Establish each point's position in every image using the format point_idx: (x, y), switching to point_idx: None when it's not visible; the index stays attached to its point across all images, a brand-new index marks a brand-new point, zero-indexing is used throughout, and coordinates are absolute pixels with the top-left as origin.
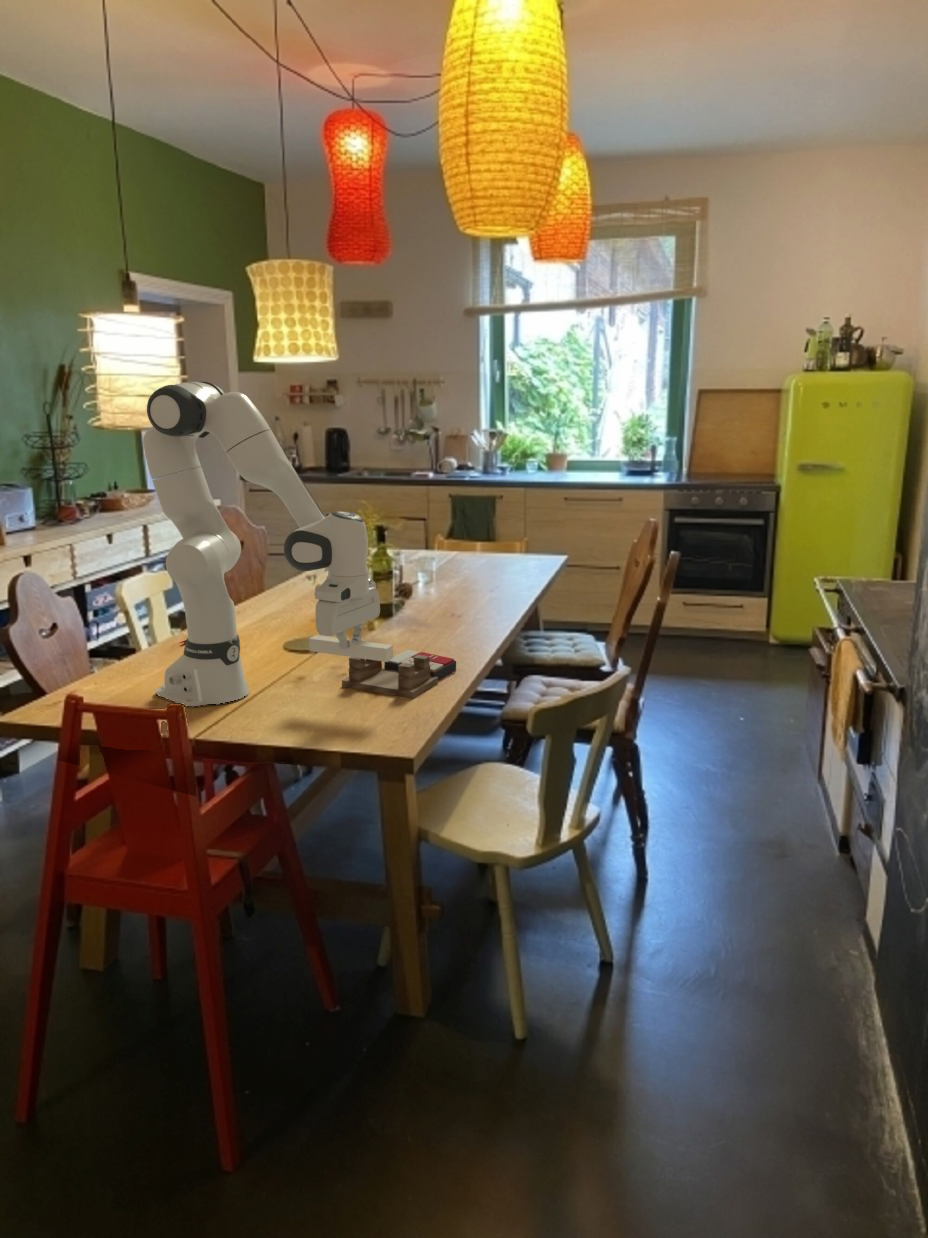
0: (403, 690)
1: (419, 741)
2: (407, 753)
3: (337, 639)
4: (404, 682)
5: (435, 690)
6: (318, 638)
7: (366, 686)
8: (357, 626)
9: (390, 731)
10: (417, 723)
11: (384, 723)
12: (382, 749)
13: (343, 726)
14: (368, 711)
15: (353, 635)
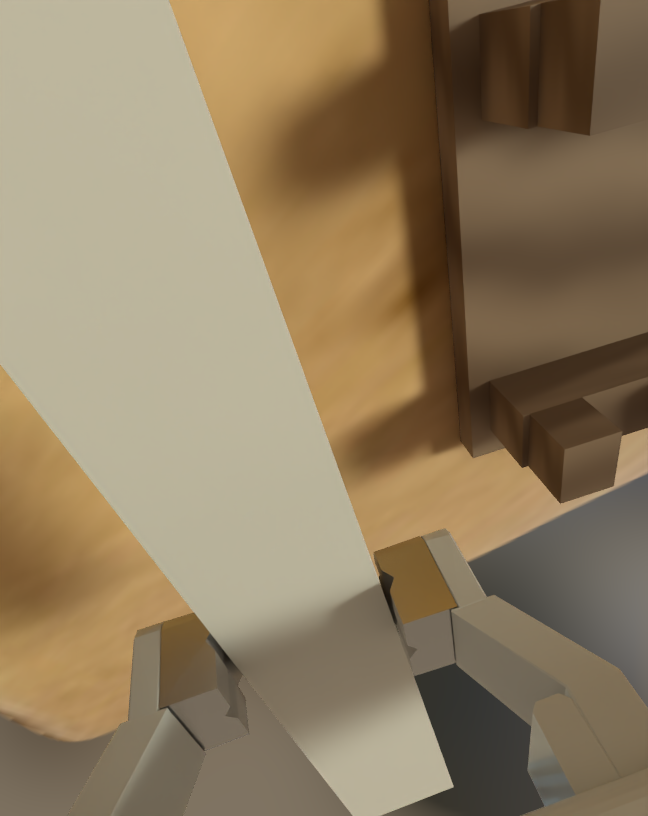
0: (472, 419)
1: None
2: (86, 733)
3: (265, 499)
4: (507, 429)
5: None
6: (3, 225)
7: (453, 202)
8: (537, 761)
9: (153, 617)
10: None
11: None
12: (37, 696)
13: (22, 502)
14: None
15: (431, 628)
